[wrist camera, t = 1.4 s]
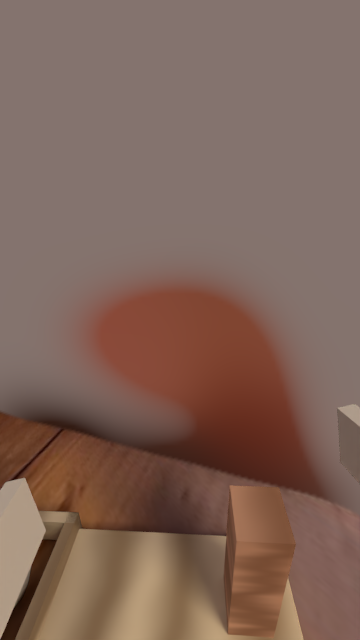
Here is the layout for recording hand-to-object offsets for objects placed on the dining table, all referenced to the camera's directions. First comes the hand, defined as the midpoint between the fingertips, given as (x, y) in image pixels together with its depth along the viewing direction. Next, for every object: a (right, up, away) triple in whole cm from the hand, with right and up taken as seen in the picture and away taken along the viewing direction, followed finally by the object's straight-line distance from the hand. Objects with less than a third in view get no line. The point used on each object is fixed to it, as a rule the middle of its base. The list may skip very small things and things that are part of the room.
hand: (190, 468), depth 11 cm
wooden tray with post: (-7, -19, +12) cm, 24 cm away
